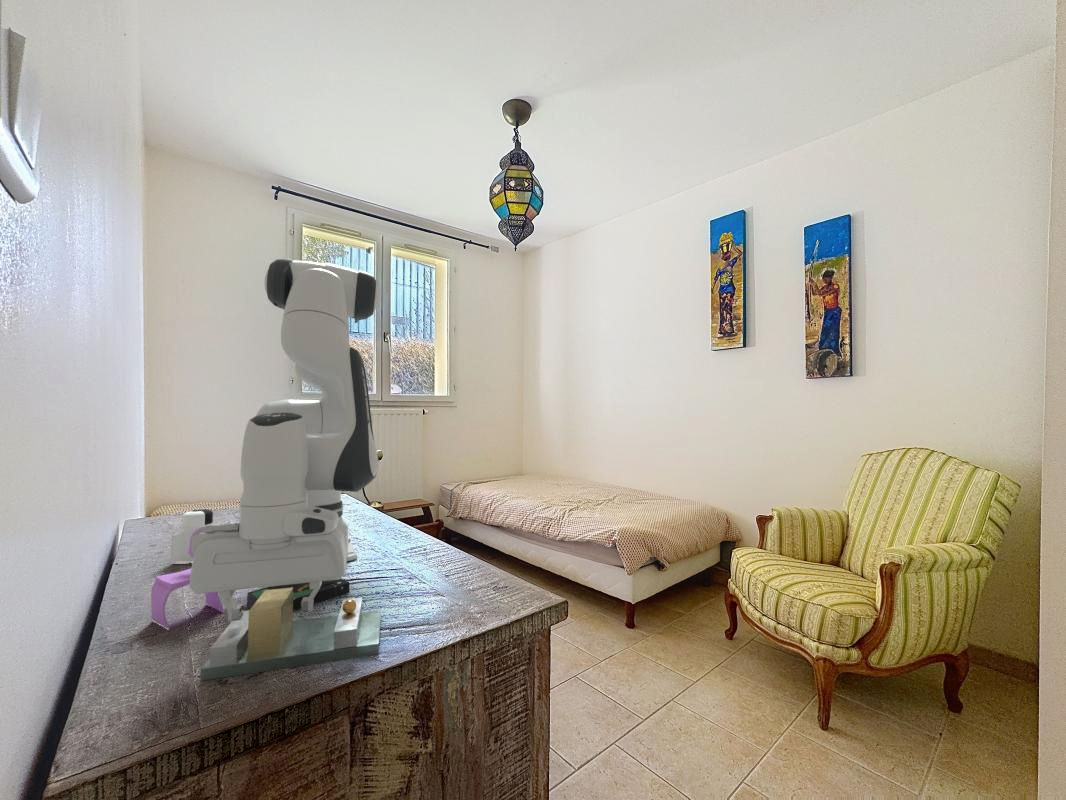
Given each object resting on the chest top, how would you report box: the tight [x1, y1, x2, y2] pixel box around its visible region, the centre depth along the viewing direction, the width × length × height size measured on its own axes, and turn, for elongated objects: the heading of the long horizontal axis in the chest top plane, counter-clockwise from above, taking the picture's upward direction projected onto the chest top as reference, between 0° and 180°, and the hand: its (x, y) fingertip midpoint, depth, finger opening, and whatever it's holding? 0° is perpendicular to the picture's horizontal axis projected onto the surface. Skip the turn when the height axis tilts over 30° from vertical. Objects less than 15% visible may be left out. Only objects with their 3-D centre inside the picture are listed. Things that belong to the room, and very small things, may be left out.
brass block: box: [248, 587, 294, 655], centre depth 66 cm, size 4×8×6 cm, turn 17°
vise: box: [199, 609, 382, 682], centre depth 67 cm, size 12×22×4 cm, turn 107°
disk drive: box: [246, 577, 351, 612], centre depth 85 cm, size 10×3×15 cm
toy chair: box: [150, 527, 225, 628], centre depth 77 cm, size 8×9×15 cm
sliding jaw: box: [334, 597, 363, 649], centre depth 69 cm, size 12×3×4 cm, turn 17°
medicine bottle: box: [170, 508, 214, 561], centre depth 109 cm, size 7×7×12 cm
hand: (272, 615), depth 66 cm, fingers open, 8 cm apart
